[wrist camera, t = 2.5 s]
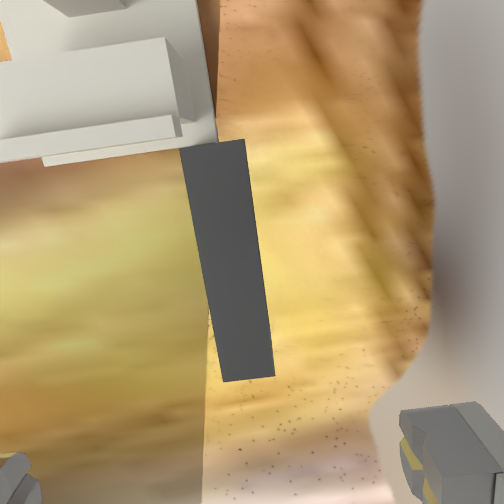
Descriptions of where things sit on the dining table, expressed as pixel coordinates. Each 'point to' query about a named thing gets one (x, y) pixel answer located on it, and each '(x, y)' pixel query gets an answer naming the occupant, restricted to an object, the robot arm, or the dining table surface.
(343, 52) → the dining table surface
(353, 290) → the dining table surface
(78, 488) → the dining table surface
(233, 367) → the tall charcoal prism
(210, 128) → the display stand
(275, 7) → the dining table surface
